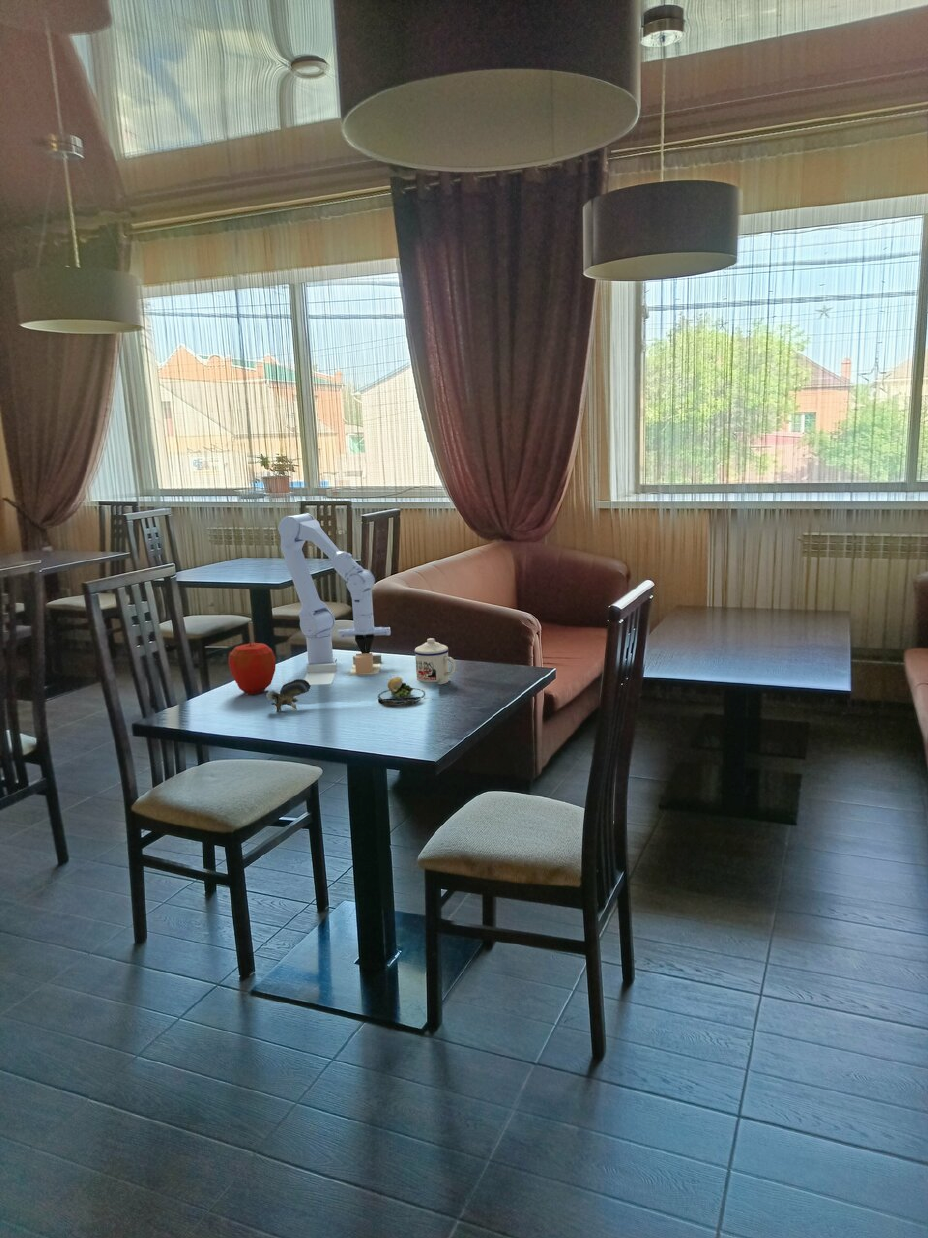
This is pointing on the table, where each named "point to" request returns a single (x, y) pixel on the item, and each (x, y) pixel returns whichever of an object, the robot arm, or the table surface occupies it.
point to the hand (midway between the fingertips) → (366, 660)
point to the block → (364, 663)
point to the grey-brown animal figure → (288, 693)
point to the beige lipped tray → (375, 665)
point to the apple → (252, 667)
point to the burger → (398, 694)
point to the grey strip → (320, 673)
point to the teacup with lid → (433, 662)
